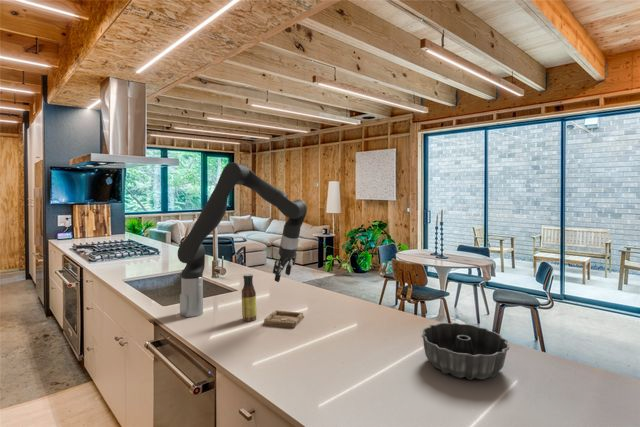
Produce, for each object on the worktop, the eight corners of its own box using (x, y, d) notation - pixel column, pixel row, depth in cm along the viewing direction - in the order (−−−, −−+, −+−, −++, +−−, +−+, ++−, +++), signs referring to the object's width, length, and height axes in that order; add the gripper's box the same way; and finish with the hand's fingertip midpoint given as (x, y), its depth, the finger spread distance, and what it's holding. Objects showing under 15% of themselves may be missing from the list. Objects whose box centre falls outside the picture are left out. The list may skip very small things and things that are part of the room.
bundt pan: (503, 397, 102) (504, 362, 102) (410, 372, 116) (411, 341, 116) (511, 361, 125) (513, 332, 124) (433, 344, 139) (433, 317, 138)
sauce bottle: (259, 318, 165) (259, 274, 164) (251, 322, 159) (251, 277, 158) (247, 316, 168) (247, 272, 166) (238, 320, 162) (238, 275, 161)
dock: (294, 328, 153) (294, 323, 153) (263, 324, 157) (263, 320, 156) (304, 317, 167) (304, 312, 167) (275, 314, 170) (275, 310, 170)
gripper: (290, 237, 166) (283, 269, 171) (272, 246, 153) (265, 280, 159) (304, 243, 163) (297, 275, 168) (287, 252, 150) (280, 287, 156)
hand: (282, 277), depth 163 cm, fingers open, 8 cm apart
